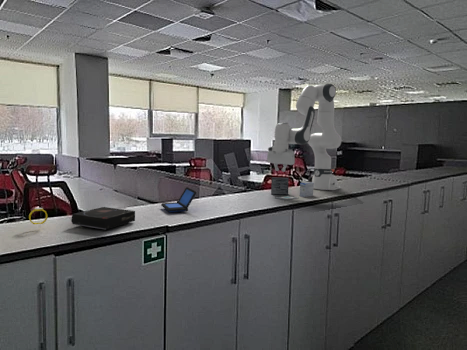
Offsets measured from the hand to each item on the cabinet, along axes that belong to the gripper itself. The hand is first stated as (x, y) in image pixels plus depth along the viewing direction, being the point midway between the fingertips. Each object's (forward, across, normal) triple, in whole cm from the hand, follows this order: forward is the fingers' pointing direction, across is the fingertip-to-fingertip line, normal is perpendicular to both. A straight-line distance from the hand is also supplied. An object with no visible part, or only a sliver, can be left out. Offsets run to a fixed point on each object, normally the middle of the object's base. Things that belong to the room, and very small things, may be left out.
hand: (280, 171), depth 222 cm
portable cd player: (+15, -13, +114) cm, 116 cm away
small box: (+15, 0, 0) cm, 15 cm away
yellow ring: (+15, -5, +136) cm, 137 cm away
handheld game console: (+15, -5, +76) cm, 77 cm away
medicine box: (+15, -14, -9) cm, 22 cm away
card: (+15, -13, +7) cm, 21 cm away
